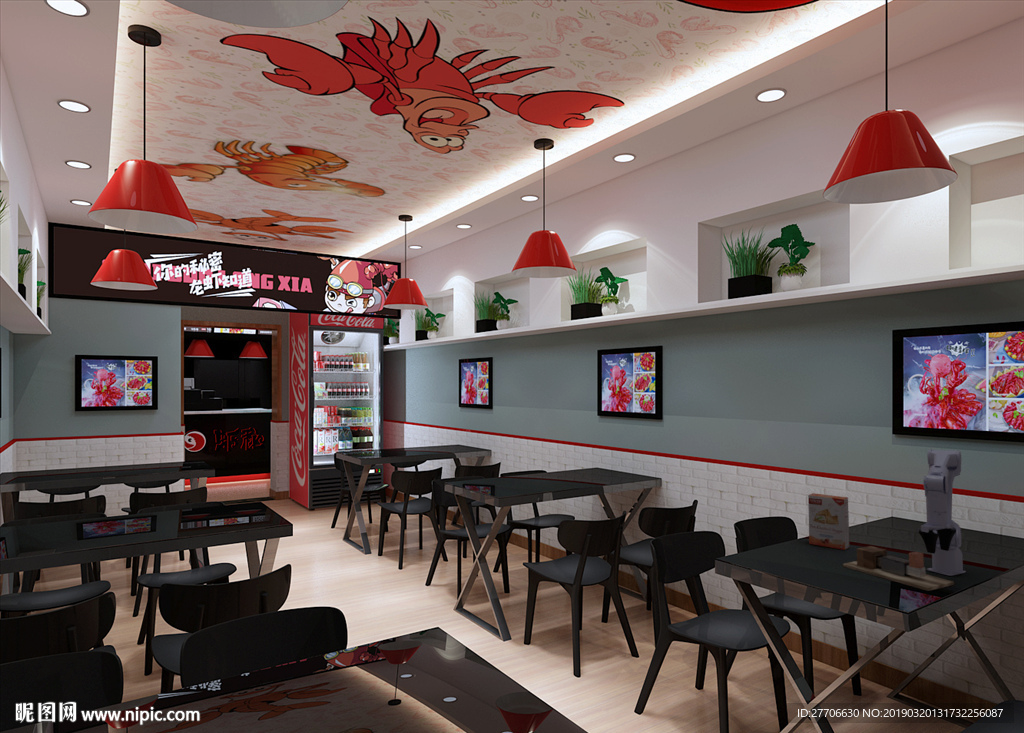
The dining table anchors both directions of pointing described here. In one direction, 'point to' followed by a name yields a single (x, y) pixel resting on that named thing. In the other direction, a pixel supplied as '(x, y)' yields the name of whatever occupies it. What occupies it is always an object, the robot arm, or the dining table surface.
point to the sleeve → (894, 565)
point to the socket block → (869, 556)
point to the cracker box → (828, 521)
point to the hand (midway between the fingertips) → (938, 551)
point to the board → (904, 578)
